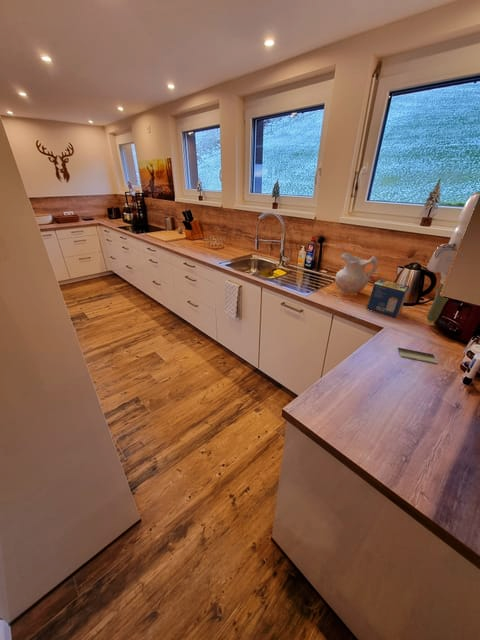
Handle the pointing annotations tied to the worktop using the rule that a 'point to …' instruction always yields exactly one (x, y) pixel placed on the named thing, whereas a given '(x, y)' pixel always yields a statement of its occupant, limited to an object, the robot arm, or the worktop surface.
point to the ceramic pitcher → (354, 274)
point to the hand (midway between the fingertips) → (448, 283)
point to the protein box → (387, 298)
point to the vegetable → (436, 306)
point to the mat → (417, 355)
